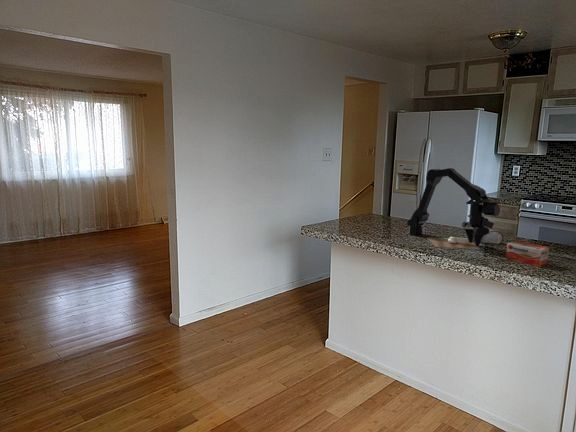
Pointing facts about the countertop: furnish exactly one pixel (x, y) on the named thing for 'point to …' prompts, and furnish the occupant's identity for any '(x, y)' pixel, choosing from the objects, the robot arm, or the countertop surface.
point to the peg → (458, 239)
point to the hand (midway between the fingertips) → (473, 244)
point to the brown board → (444, 243)
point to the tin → (492, 237)
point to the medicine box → (527, 253)
